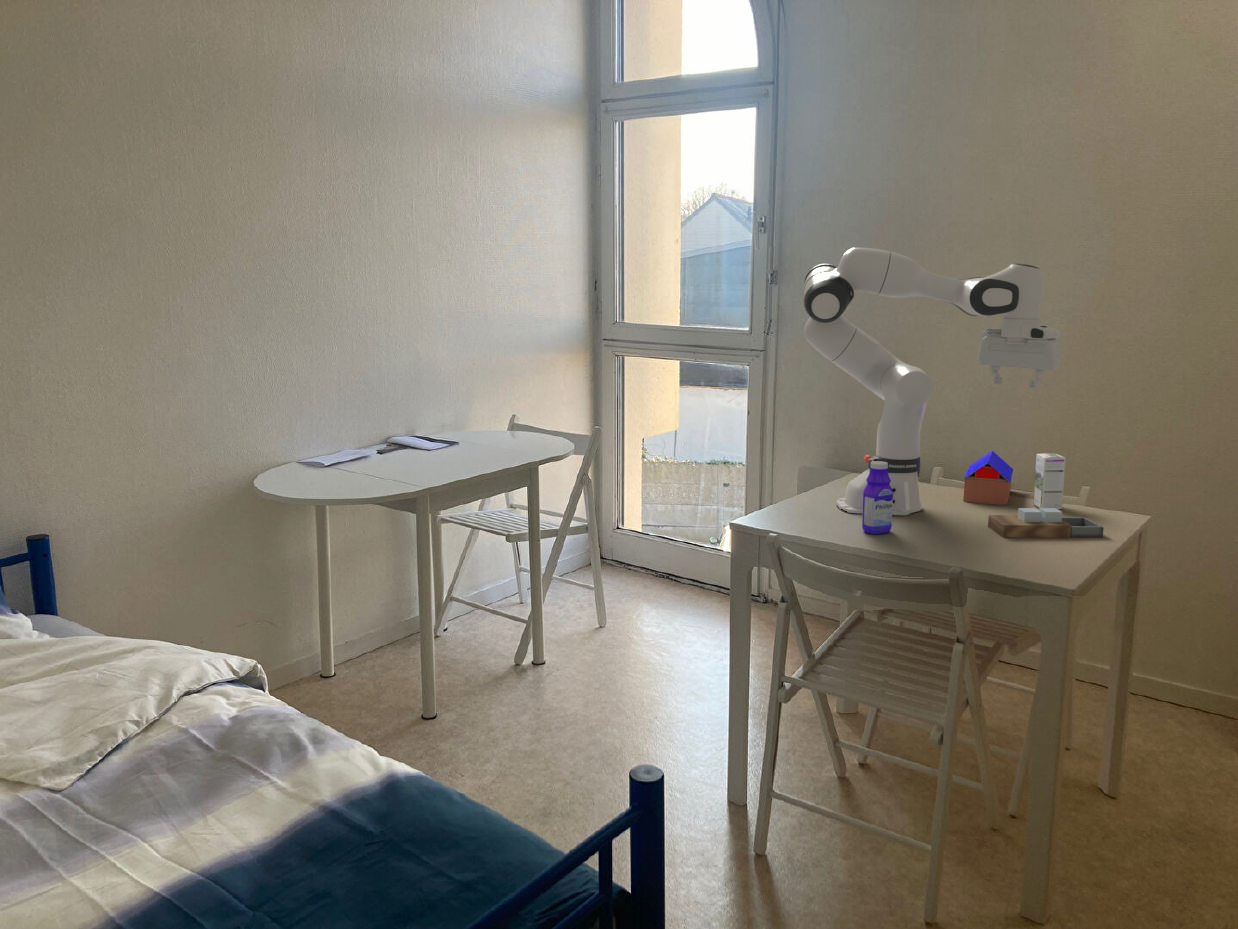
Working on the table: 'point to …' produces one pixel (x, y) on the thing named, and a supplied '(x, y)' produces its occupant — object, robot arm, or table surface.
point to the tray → (1083, 527)
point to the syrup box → (1049, 481)
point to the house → (988, 480)
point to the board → (1027, 527)
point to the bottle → (877, 500)
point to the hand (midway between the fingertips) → (1015, 385)
